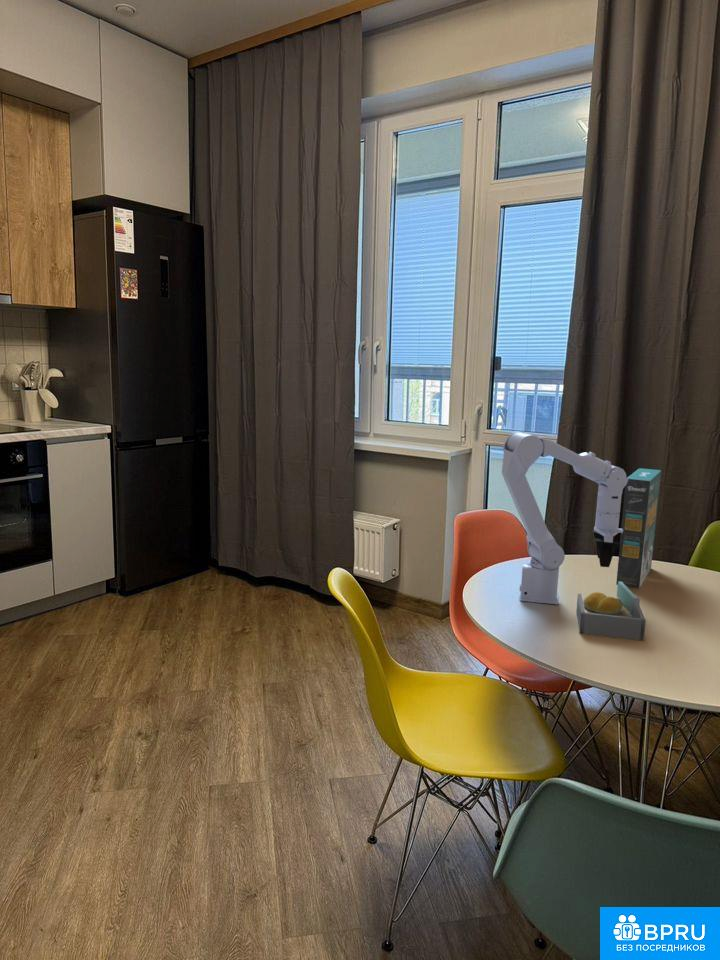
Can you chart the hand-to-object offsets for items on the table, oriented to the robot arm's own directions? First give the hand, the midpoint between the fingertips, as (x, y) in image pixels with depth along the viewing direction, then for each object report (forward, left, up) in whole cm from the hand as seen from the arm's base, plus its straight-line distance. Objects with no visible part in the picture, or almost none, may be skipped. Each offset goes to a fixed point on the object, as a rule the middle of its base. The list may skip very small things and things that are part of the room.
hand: (603, 562), depth 176 cm
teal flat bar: (+6, -7, -9) cm, 13 cm away
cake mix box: (+11, +22, -10) cm, 26 cm away
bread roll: (0, -9, -10) cm, 14 cm away
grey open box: (+1, -19, -9) cm, 22 cm away
